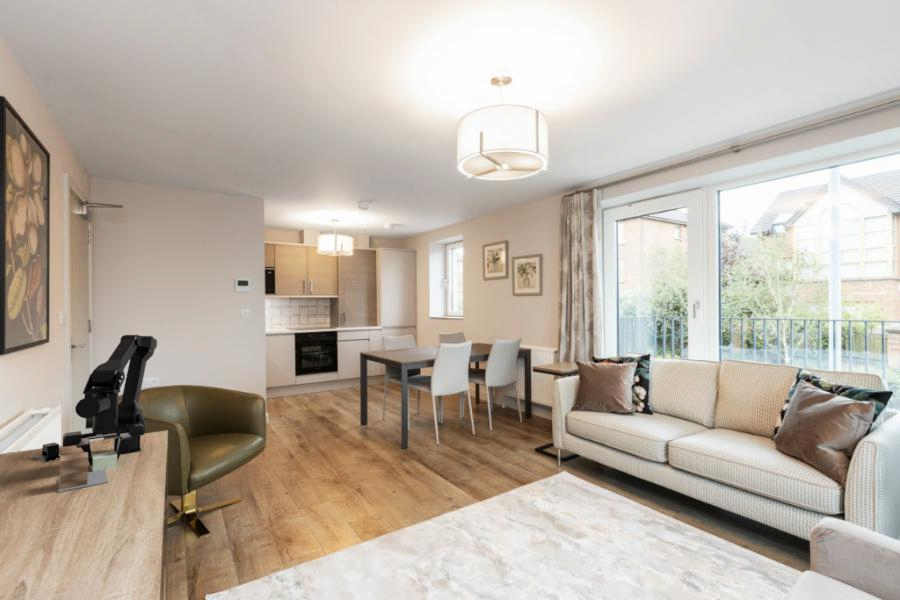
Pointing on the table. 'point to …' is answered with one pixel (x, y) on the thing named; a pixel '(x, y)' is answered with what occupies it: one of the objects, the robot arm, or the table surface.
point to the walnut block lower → (73, 480)
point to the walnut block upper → (73, 463)
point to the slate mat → (90, 480)
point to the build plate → (49, 452)
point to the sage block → (104, 461)
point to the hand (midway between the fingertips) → (103, 463)
